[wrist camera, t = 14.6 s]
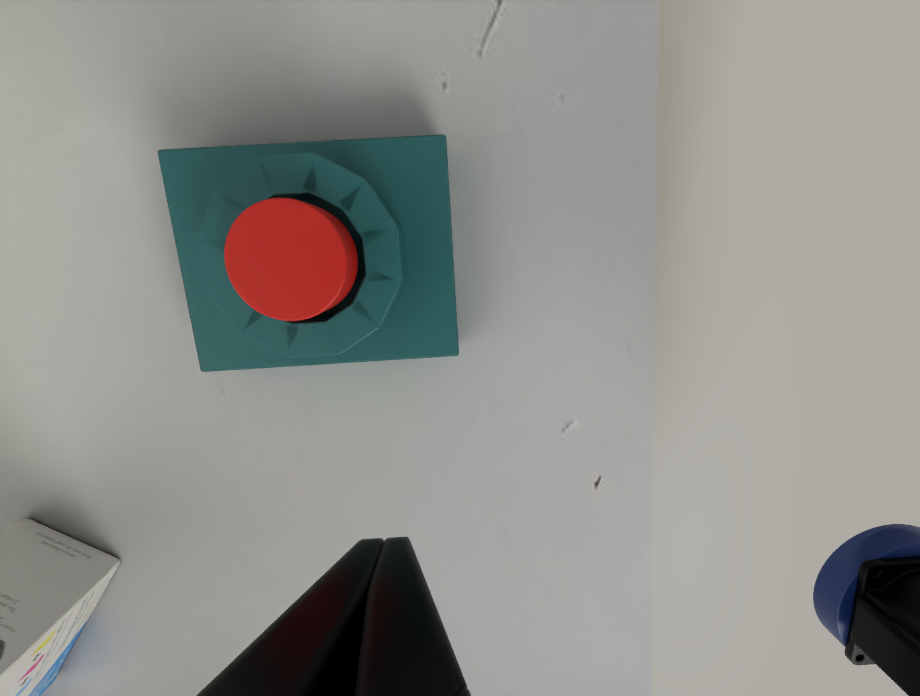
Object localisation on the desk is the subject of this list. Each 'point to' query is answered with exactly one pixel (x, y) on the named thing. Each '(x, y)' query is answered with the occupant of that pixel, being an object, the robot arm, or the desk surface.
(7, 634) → the ink box
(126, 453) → the desk surface
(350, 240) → the button
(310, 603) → the robot arm
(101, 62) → the desk surface
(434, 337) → the control block
